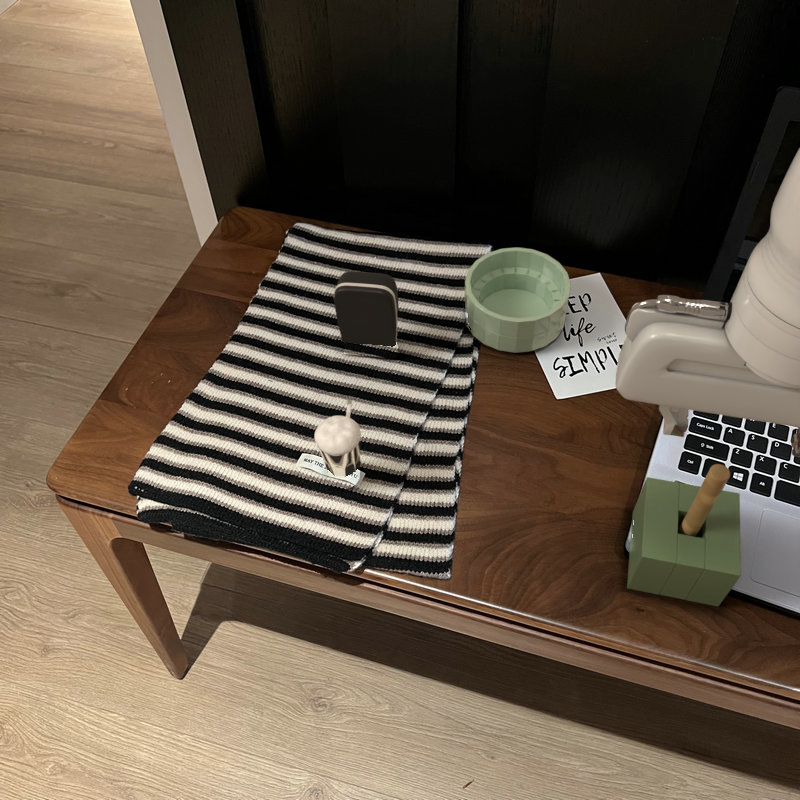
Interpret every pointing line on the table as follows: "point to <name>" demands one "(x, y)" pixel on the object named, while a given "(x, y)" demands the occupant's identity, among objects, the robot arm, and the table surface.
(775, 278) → the robot arm
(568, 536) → the table surface
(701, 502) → the stick
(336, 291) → the battery charger
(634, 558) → the holder
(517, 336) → the bowl
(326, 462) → the milkshake
